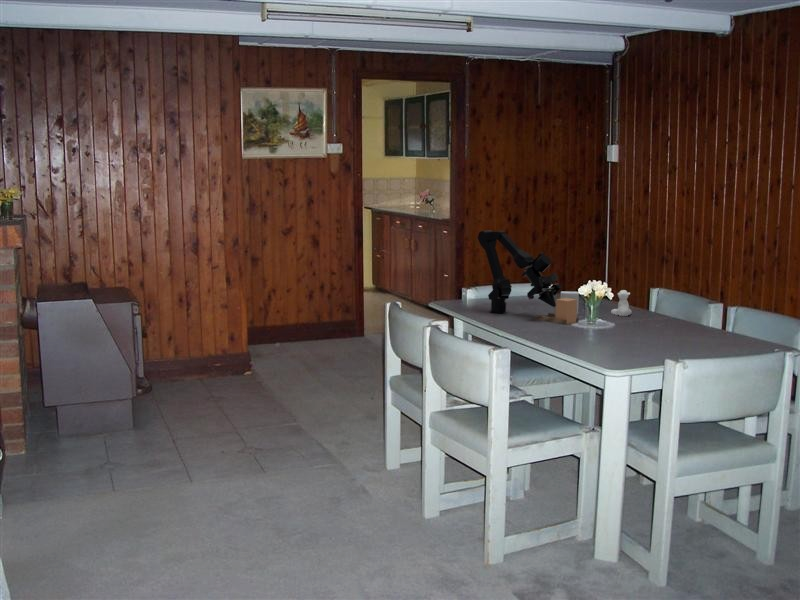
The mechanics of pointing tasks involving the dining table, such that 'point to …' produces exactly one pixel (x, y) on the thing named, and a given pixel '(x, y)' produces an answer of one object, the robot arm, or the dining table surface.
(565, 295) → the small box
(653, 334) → the dining table surface
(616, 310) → the white creature statuette
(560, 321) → the chute
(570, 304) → the block
